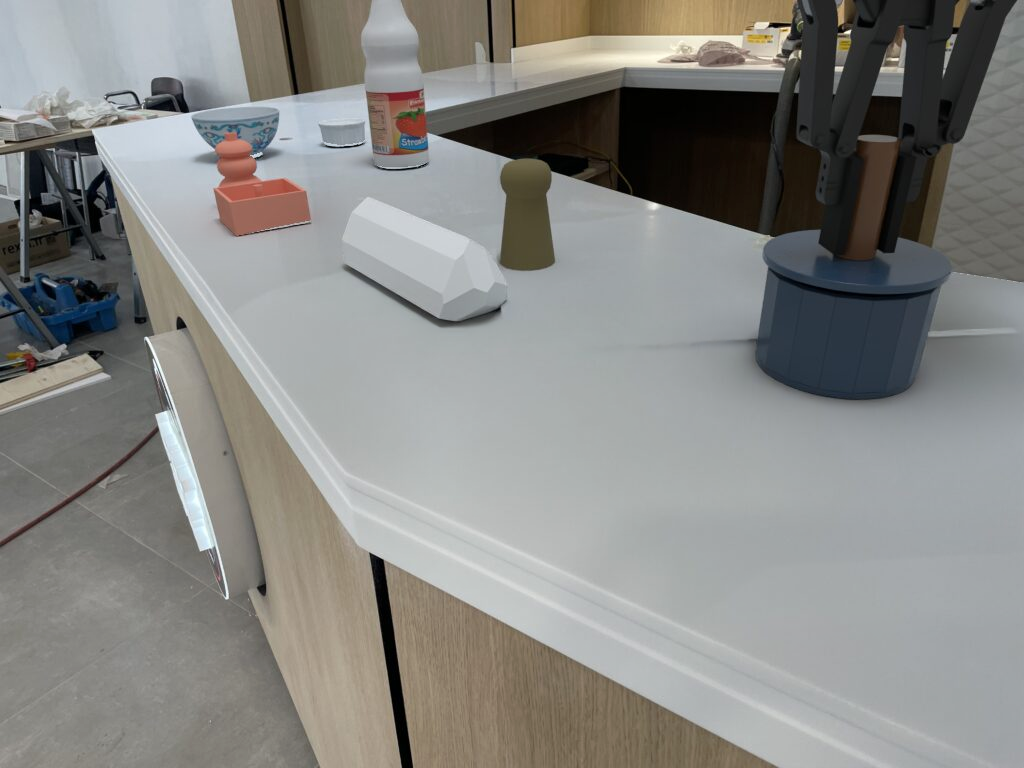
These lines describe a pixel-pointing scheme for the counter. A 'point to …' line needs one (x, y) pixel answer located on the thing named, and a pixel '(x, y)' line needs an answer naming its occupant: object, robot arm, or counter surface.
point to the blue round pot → (842, 338)
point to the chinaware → (239, 125)
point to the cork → (526, 216)
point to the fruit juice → (394, 87)
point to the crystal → (423, 262)
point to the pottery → (254, 192)
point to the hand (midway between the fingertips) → (855, 247)
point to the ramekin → (343, 130)
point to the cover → (862, 240)
